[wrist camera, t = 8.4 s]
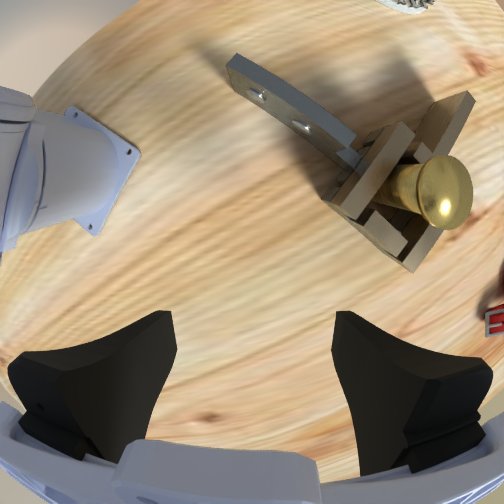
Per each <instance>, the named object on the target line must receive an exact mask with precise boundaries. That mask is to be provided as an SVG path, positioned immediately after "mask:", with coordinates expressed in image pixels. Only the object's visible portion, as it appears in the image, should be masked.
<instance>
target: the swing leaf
mask: <svg viewBox="0 0 504 504" xmlns="http://www.w3.org/2000/svg"><path fill="white" fill-rule="evenodd" d="M475 102H476V101H475V99H474V98H473V97H472V95H471V94H470V93H469V92H468V91H464V92H461V93H458V94H455V95H453V96H450V97H447V98H444V99H441V100H439V101H436V102H434V103H433V104H432V106H431V108H430V109H429V111H428V113H427V114H426V116H425V117H424V119H423V121H422V122H421V124H420V125H419V127H418V128H417V130H416V131H415V133H413V132H412V131H411V129H410V128H409V127H408V126H407V125H406V124H405V123H404V122H403V121H400V122H397V123H394V124H392V125H389V126H386V127H385V128H384V130H383V131H382V132H381V134H380V135H379V137H378V138H377V139H376V141H375V142H374V144H373V145H372V146H371V148H370V149H369V150H368V152H367V153H366V155H365V156H364V157H363V159H362V160H361V161H360V163H359V164H358V165H357V167H356V168H355V170H354V171H353V172H352V174H351V175H350V176H349V178H348V179H347V180H346V182H345V183H344V184H343V186H342V187H341V188H340V190H339V191H338V192H337V194H336V195H335V196H334V198H333V199H332V200H331V202H330V203H331V204H332V205H333V206H334V207H336V208H337V209H338V210H339V211H340V212H342V213H343V214H344V215H346V216H348V217H350V218H352V219H351V221H352V222H353V223H354V224H356V225H357V226H358V227H359V228H360V229H361V230H362V231H363V232H365V233H366V234H367V235H368V236H369V237H370V238H371V239H372V240H373V241H375V242H376V243H377V244H378V245H379V246H380V247H381V248H383V249H384V250H386V251H387V253H388V254H389V255H390V256H391V257H392V258H393V259H394V260H395V261H396V262H397V263H398V264H400V265H401V266H403V267H404V268H406V269H407V270H408V271H410V272H411V273H414V272H415V270H416V269H417V268H418V266H419V265H420V264H421V262H422V261H423V260H424V258H425V257H426V255H427V254H428V253H429V251H430V250H431V248H432V247H433V245H434V244H435V242H436V241H437V240H438V238H439V237H440V235H441V233H442V232H443V230H444V229H440V228H438V227H435V226H433V225H431V224H430V223H428V222H427V221H426V220H425V219H424V217H423V216H422V214H418V213H415V214H414V216H413V217H412V219H411V220H410V222H409V223H408V224H407V226H406V227H405V229H404V230H403V231H402V233H401V234H400V233H399V232H398V231H397V230H396V229H395V228H394V227H393V226H392V225H391V224H390V223H389V222H388V221H387V220H386V219H385V218H384V217H383V216H381V215H380V214H379V213H378V212H377V211H376V210H374V209H371V208H367V207H366V206H367V204H368V203H369V202H370V200H371V199H372V198H373V196H374V195H375V193H376V192H377V191H378V189H379V188H380V186H381V185H382V184H383V182H384V181H385V179H386V178H387V177H388V175H389V174H390V172H391V171H392V169H393V168H394V166H395V165H396V164H397V162H398V161H399V162H400V163H401V164H402V165H412V164H424V163H425V162H426V161H427V160H428V159H430V158H432V157H435V156H444V155H448V154H449V152H450V150H451V148H452V147H453V145H454V143H455V141H456V139H457V138H458V136H459V134H460V132H461V130H462V128H463V126H464V124H465V122H466V120H467V118H468V116H469V114H470V112H471V110H472V108H473V106H474V104H475Z"/></svg>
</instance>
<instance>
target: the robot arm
mask: <svg viewBox="0 0 504 504" xmlns="http://www.w3.org/2000/svg"><path fill="white" fill-rule="evenodd" d="M77 114H78V116H77V117H76V115H77ZM129 149H131V150H132V152H131V154H130V155H129V154H128V151H129ZM140 157H141V152H140V151H139V150H138V149H137V148H135V147H134V146H133V145H131V144H130V143H128V142H127V141H125V140H124V139H122V138H121V137H119V136H118V135H116V134H115V133H113V132H112V131H110V130H109V129H107V128H106V127H104V126H103V125H102V124H100V123H99V122H97V121H96V120H94V119H93V118H91V117H90V116H88V115H87V114H85V113H83V112H82V111H80V110H79V109H77V108H76V107H74V106H69V107H68V108H67V110H66V112H65V114H64V115H62V114H57V113H53V112H48V111H44V110H39V109H36V107H35V106H34V103H33V100H32V97H31V96H29V95H27V94H24V93H21V92H19V91H15V90H12V89H9V88H5V87H1V86H0V266H1V261H2V253H4V252H6V251H9V250H11V249H14V248H15V247H16V243H17V240H18V238H19V236H20V235H23V234H26V233H29V232H32V231H35V230H38V229H41V228H45V227H48V226H51V225H55V224H58V223H61V222H65V221H68V220H72V219H74V220H75V221H76V222H77V223H79V224H80V225H81V226H82V227H83V228H84V229H85V230H87V231H88V232H89V233H90V234H91V235H93V236H97V235H99V234H100V232H101V230H102V228H103V226H104V224H105V221H106V219H107V217H108V215H109V213H110V211H111V209H112V207H113V205H114V203H115V202H116V200H117V198H118V196H119V194H120V192H121V190H122V188H123V187H124V185H125V183H126V181H127V179H128V178H129V176H130V174H131V172H132V171H133V169H134V167H135V166H136V164H137V162H138V161H139V159H140ZM90 224H91V225H92V229H91V228H90ZM176 352H177V344H176V338H175V332H174V327H173V320H172V314H171V311H162V310H158V311H155V312H153V313H151V314H149V315H147V316H145V317H143V318H141V319H140V320H138V321H136V322H134V323H132V324H130V325H128V326H126V327H124V328H122V329H120V330H118V331H116V332H114V333H112V334H110V335H107V336H105V337H103V338H100V339H97V340H94V341H92V342H88V343H85V344H81V345H77V346H73V347H69V348H64V349H57V350H49V351H25V352H23V353H21V354H20V355H19V356H18V357H17V358H16V359H15V360H14V361H12V362H11V363H10V364H9V366H8V377H9V380H10V382H11V384H12V386H13V388H14V390H15V392H16V394H17V395H18V397H19V399H20V400H21V402H22V404H23V405H24V407H25V409H26V410H27V411H26V413H25V414H24V415H22V414H21V413H20V412H19V411H18V410H17V409H15V408H14V407H12V406H10V405H9V404H7V403H6V402H4V401H2V402H1V403H0V466H1V467H2V468H3V469H4V470H5V471H6V472H7V473H8V474H9V475H10V476H11V477H13V478H14V479H15V480H17V481H19V483H21V484H22V485H23V486H25V487H26V488H28V489H29V490H30V491H32V492H33V493H35V494H36V495H37V496H39V497H40V498H42V499H44V500H45V501H46V502H48V503H50V504H474V503H475V502H477V501H478V500H480V499H481V498H483V497H484V496H486V495H487V494H489V493H490V492H492V491H493V490H494V489H496V488H497V487H498V486H499V485H500V484H502V482H504V412H502V413H501V414H499V415H497V416H496V417H494V418H492V419H490V420H488V421H487V422H486V423H485V424H484V425H482V426H480V424H479V423H478V421H479V420H480V418H481V415H480V414H479V412H478V411H477V410H478V408H479V406H480V405H481V403H482V401H483V400H484V398H485V396H486V394H487V393H488V391H489V388H490V386H491V384H492V379H493V371H492V369H491V368H490V367H489V366H488V365H487V363H486V362H485V361H484V360H483V359H482V358H478V357H463V356H454V355H448V354H443V353H438V352H434V351H431V350H427V349H424V348H421V347H418V346H415V345H412V344H410V343H408V342H405V341H403V340H401V339H398V338H396V337H394V336H393V335H391V334H389V333H387V332H385V331H383V330H382V329H380V328H378V327H376V326H375V325H373V324H372V323H370V322H368V321H367V320H365V319H364V318H362V317H360V316H359V315H357V314H355V313H354V312H352V311H336V319H335V327H334V334H333V341H332V348H331V352H332V357H333V361H334V366H335V370H336V372H337V375H338V378H339V381H340V383H341V386H342V389H343V391H344V394H345V397H346V399H347V402H348V405H349V408H350V412H351V416H352V421H353V425H354V430H355V436H356V442H357V449H358V457H359V466H360V477H358V478H352V479H347V480H341V481H334V482H327V483H320V481H319V474H318V469H317V465H316V462H315V460H312V459H310V458H308V457H305V456H303V455H301V454H299V453H296V452H288V451H277V450H240V449H223V448H211V447H201V446H193V445H186V444H179V443H173V442H167V441H161V440H145V436H146V432H147V428H148V424H149V421H150V418H151V414H152V411H153V408H154V406H155V403H156V401H157V399H158V396H159V394H160V392H161V390H162V388H163V386H164V384H165V381H166V379H167V377H168V375H169V373H170V371H171V368H172V366H173V363H174V360H175V356H176Z"/></svg>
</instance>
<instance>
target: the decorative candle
mask: <svg viewBox="0 0 504 504" xmlns="http://www.w3.org/2000/svg"><path fill="white" fill-rule="evenodd" d="M375 1H377V2H379V3H381V4H383V5H385V6H387V7H389V8H390V9H392V10H396V11H399V12H402V13H406V14H420V13H421V12H423V11H424V10H425V9H427V8H428V6H427V3H428V4H431V5H433V4H434V3H433V2H435V0H375Z"/></svg>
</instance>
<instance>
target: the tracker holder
mask: <svg viewBox="0 0 504 504" xmlns="http://www.w3.org/2000/svg"><path fill="white" fill-rule="evenodd" d="M501 334H504V304H503V305H500V306H498V307H496V308H494V309H492V310H490V311H488V312H486V313H485V337H491V336H496V335H501Z"/></svg>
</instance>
